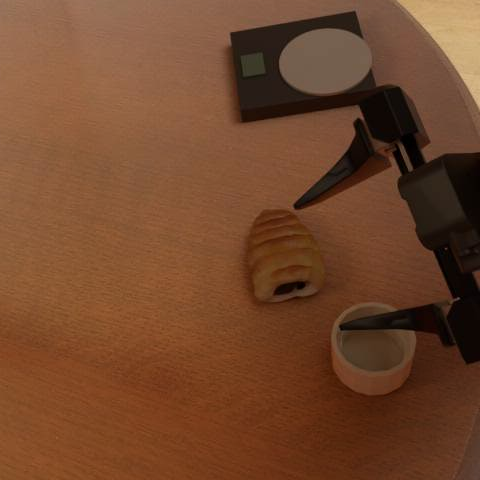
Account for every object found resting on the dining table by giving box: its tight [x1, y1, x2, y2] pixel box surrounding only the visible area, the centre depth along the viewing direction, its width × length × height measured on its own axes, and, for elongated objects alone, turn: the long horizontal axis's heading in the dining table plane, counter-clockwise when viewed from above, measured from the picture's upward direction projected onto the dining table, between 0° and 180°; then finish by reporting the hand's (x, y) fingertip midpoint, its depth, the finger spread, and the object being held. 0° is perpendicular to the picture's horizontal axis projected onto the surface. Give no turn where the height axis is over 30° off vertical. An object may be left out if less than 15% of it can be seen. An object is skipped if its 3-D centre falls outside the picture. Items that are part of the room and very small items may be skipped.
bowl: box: [330, 301, 418, 396], centre depth 61 cm, size 6×6×4 cm
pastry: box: [246, 208, 327, 304], centre depth 68 cm, size 9×7×4 cm
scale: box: [229, 10, 378, 123], centre depth 81 cm, size 14×12×2 cm
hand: (317, 266), depth 54 cm, fingers open, 9 cm apart
